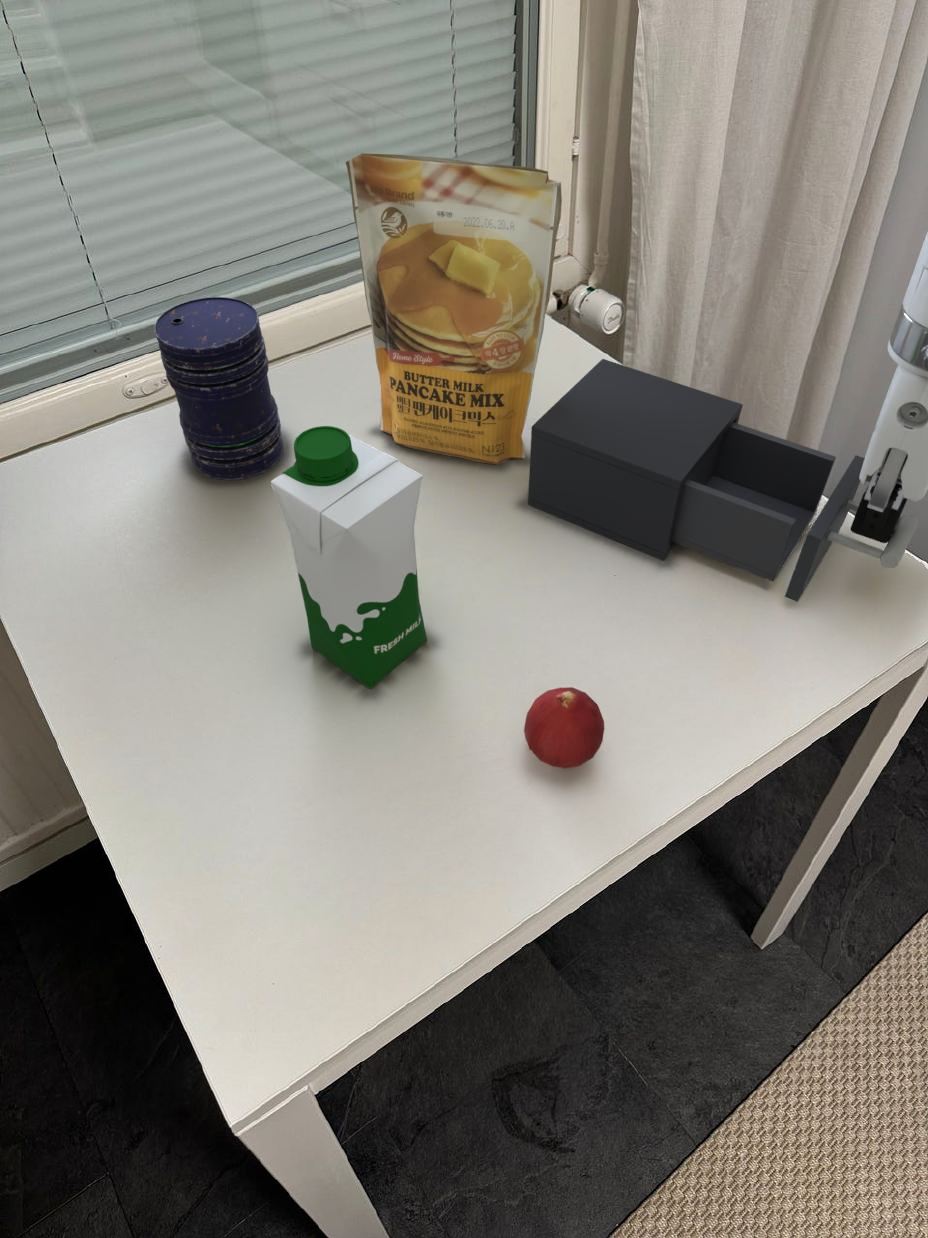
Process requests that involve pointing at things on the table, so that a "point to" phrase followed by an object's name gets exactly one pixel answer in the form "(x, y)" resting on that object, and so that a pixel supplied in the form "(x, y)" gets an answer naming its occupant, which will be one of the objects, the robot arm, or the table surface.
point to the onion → (564, 727)
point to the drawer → (772, 507)
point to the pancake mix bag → (455, 296)
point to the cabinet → (624, 453)
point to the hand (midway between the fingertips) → (870, 532)
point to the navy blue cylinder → (221, 386)
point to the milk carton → (354, 550)
